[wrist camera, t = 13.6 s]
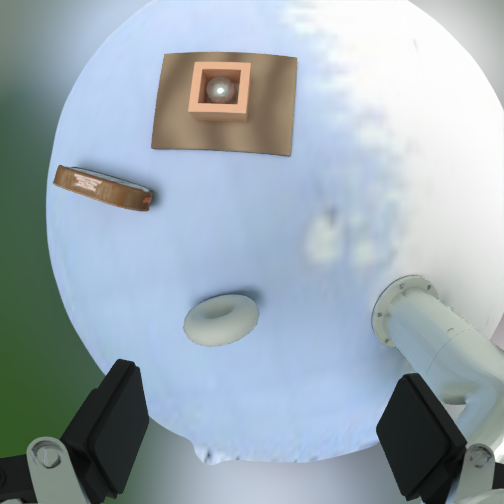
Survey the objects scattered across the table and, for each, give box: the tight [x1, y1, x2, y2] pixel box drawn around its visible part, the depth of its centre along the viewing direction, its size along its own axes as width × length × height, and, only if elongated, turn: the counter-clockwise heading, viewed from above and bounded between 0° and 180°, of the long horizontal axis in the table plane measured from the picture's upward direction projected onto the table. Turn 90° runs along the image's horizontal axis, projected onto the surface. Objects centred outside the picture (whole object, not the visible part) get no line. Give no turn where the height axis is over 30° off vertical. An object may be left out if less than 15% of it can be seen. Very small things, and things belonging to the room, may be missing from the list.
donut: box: [183, 295, 259, 347], centre depth 36 cm, size 10×4×10 cm, turn 104°
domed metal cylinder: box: [206, 76, 236, 104], centre depth 30 cm, size 3×3×4 cm
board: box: [151, 52, 297, 156], centre depth 33 cm, size 18×14×2 cm
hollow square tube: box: [188, 62, 251, 123], centre depth 30 cm, size 6×6×5 cm
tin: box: [53, 165, 153, 211], centre depth 32 cm, size 15×3×8 cm, turn 71°
